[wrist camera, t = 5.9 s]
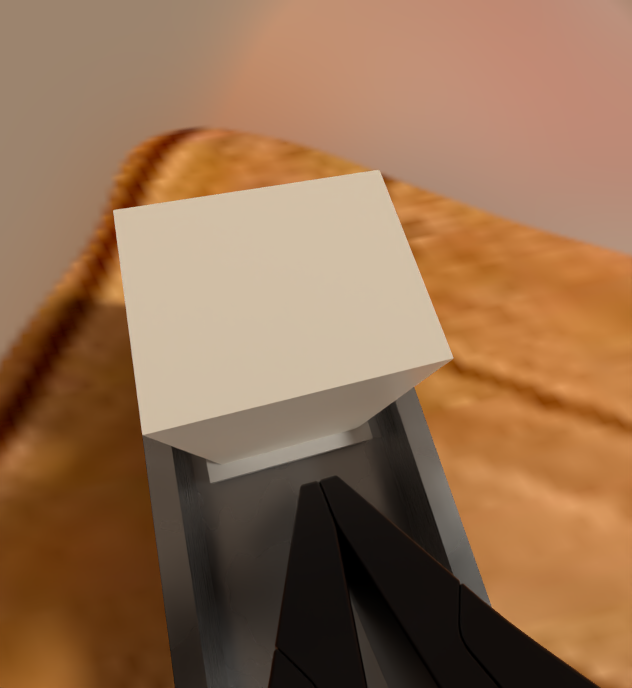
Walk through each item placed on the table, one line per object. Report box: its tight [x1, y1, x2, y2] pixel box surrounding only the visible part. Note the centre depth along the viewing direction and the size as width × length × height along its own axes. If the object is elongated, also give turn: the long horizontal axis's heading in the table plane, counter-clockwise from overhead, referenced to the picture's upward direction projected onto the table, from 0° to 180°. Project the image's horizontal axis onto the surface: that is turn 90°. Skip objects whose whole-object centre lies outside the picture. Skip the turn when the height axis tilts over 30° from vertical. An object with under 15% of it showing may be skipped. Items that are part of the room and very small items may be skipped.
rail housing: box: [142, 387, 491, 688], centre depth 14 cm, size 18×9×4 cm, turn 15°
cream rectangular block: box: [113, 170, 453, 483], centre depth 11 cm, size 5×6×10 cm
